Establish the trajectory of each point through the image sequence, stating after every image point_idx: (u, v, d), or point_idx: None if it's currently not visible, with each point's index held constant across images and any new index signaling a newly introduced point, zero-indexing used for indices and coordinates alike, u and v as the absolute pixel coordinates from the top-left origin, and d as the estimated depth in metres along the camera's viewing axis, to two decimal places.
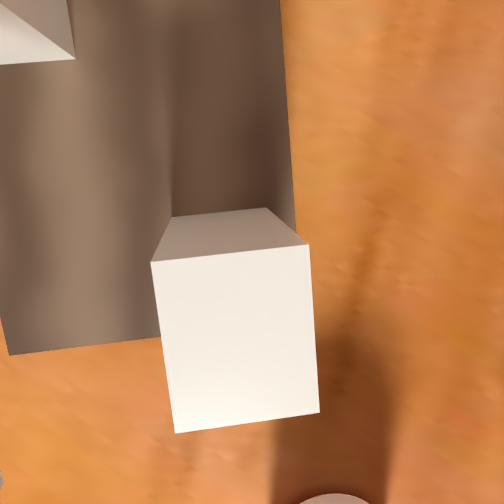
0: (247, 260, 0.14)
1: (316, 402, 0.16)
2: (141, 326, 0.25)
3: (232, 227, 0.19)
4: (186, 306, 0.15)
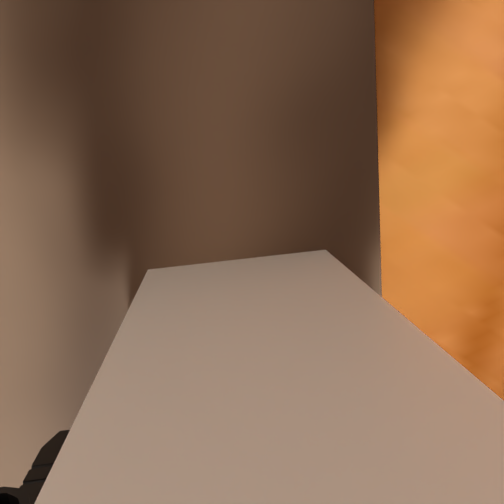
0: None
1: None
2: None
3: (279, 329, 0.08)
4: None
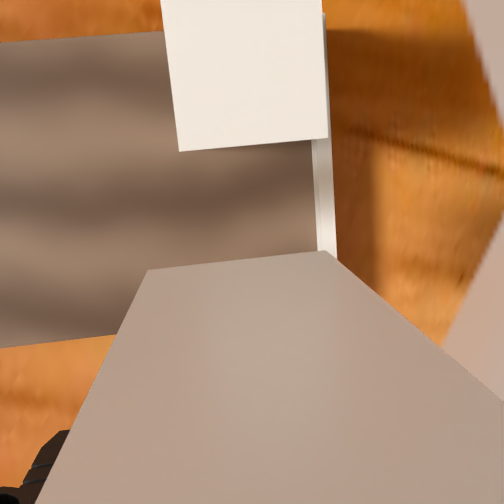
0: None
1: None
2: None
3: (280, 330, 0.08)
4: None
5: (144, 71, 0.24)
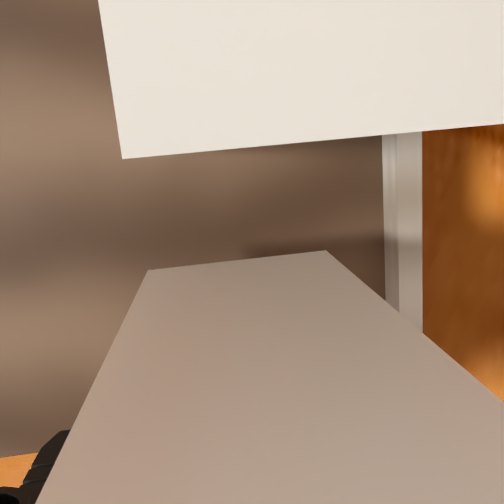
0: None
1: None
2: None
3: (280, 331, 0.08)
4: None
5: (96, 12, 0.13)
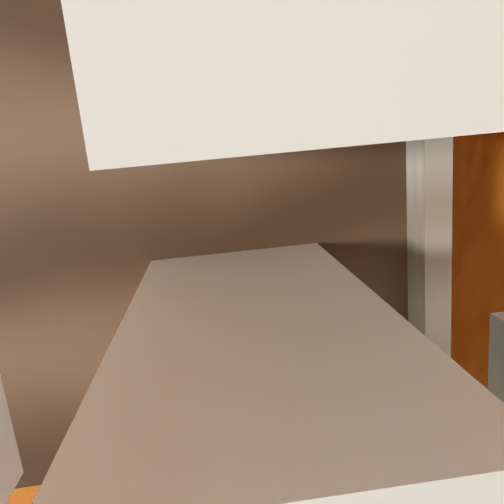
0: None
1: None
2: None
3: (270, 310, 0.09)
4: None
5: None
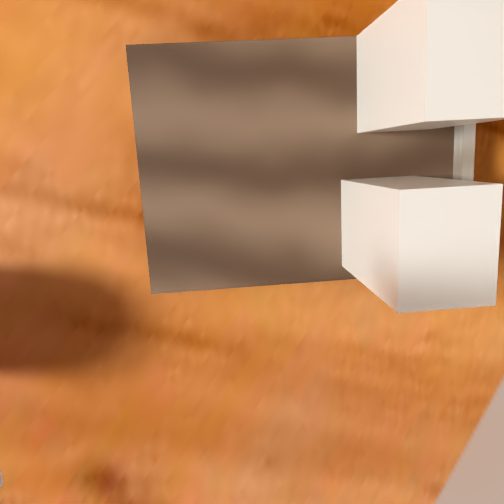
0: (462, 193, 0.21)
1: (494, 297, 0.23)
2: (149, 162, 0.30)
3: (415, 181, 0.26)
4: (418, 222, 0.22)
5: (328, 68, 0.29)
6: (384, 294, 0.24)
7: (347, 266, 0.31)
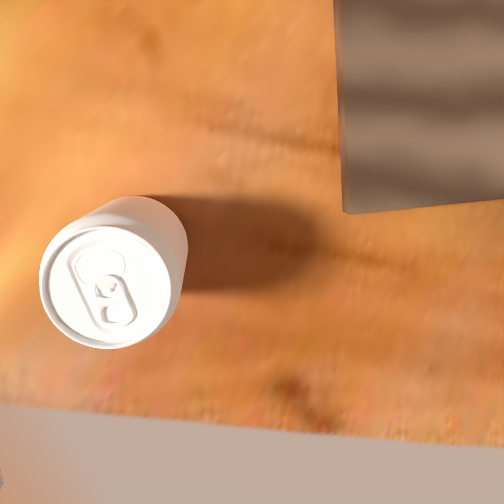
0: None
1: None
2: (354, 96, 0.34)
3: None
4: None
5: None
6: None
7: None
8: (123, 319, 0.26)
